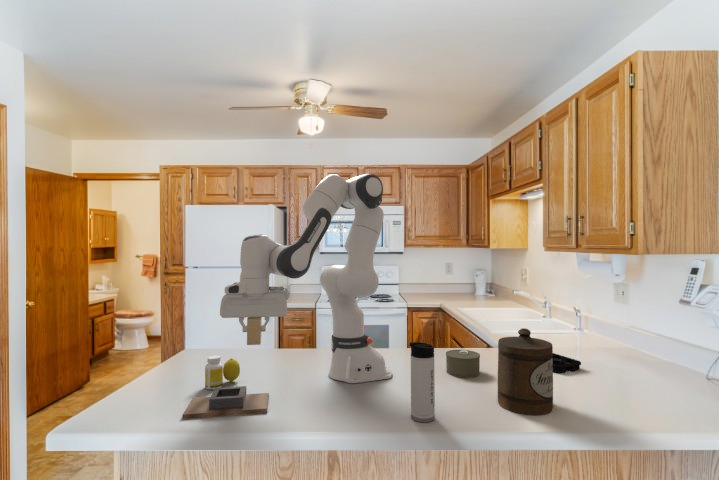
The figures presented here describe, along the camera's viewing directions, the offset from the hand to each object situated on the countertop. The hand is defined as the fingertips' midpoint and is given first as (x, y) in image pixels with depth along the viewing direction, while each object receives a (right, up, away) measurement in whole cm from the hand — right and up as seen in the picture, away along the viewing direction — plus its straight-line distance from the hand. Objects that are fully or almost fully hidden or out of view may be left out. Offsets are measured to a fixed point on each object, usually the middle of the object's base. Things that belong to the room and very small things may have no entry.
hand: (254, 331), depth 126 cm
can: (+70, -20, +21) cm, 76 cm away
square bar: (0, -4, 0) cm, 4 cm away
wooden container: (+80, -20, -9) cm, 83 cm away
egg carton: (+104, -20, +34) cm, 111 cm away
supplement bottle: (-15, -20, +7) cm, 26 cm away
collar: (-5, -18, -10) cm, 21 cm away
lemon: (-11, -20, +12) cm, 25 cm away
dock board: (-5, -20, -10) cm, 22 cm away
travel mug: (+49, -19, -17) cm, 56 cm away
